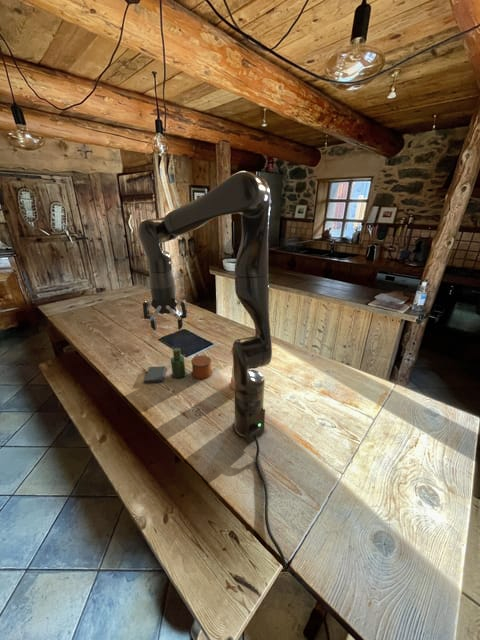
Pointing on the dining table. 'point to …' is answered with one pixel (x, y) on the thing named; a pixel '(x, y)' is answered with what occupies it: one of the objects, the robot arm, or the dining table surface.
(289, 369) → the dining table surface
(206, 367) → the copper tin
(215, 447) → the dining table surface
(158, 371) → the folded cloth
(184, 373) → the green bottle
